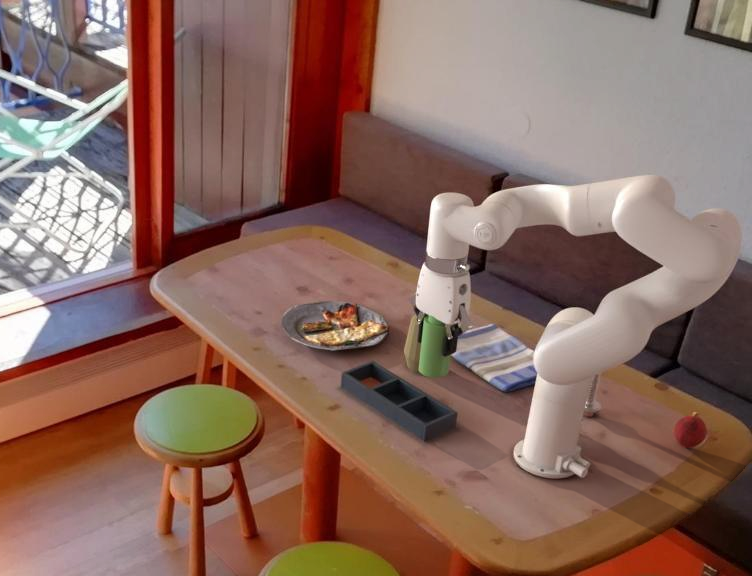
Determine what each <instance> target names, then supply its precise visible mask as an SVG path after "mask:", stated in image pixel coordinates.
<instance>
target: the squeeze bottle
mask: <svg viewBox="0 0 752 576" xmlns="http://www.w3.org/2000/svg"><path fill="white" fill-rule="evenodd" d="M418 330H419V323H418V322H417V316H416V314H414V315H413V316H412V317H411V318H410V323H409V327H408V332H407V336H406V339H405V344H404V348H403V353H404V357H405V362H406V366H407V368H408V369H409V370H411V371H412V372H415V373H419V374H421V373H420V372H419V360H420V351H421V343H419V342H417V339H418Z"/></svg>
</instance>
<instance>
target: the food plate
mask: <svg viewBox="0 0 752 576" xmlns="http://www.w3.org/2000/svg"><path fill="white" fill-rule="evenodd" d="M280 325H281V328H282V330H283V331H284V332H285V333H286V335H287V336H288V337H289V338H290V339H291V340H292V341H295V342H297V343H299V344H302V345H305V346H306V347H310V348H314V349H319V350H326V351H334V352H335V351H341V350H351V349H352V350H354V349H358V348H365V347H372V346H376V345H379V344H381V343H382V342H383V341H384V340H386V338H387V336H388V335H389V334H390V325H389V324H388V321H387V320H386V318H385V317H384V316H383V315H381V314H380V313H379V312H378V311H377V310H374V309H371V308H369V307H367V306H364V305H362V304H360V303H354V302H353V303H352V302H351V303H350V302H346V301H335V300H326V301H325V300H324V301H318V302H309V303H303V304H296V305H294V306H292V307H290V308H289V309H287V310H286V311H284V313H283V315H282V316H281V318H280Z"/></svg>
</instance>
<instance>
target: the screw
mask: <svg viewBox="0 0 752 576" xmlns="http://www.w3.org/2000/svg"><path fill="white" fill-rule="evenodd" d="M601 374H602V373H600V374H597V375H595V376H592V380H591V384H590V389H589V393H588V397H587V400H586V405H585V409H584V414H583V417H587V418H588V417H593V416H594V413H599V412H600V411H601V409H602V405H601V403H600V402H599V401H598V400H596V397H597V392H598V389H599V384H600V379H601V376H602V375H601Z"/></svg>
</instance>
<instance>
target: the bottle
mask: <svg viewBox="0 0 752 576" xmlns="http://www.w3.org/2000/svg"><path fill="white" fill-rule="evenodd" d="M452 330H455V329H454V325H452ZM445 337H447V334H446V328H445V323H443V322H441V321H439V320H437V319H435V317H433V316H430V315H427V316H426V317H425V318H424V324H423V333H422V342H421V351H420V360H419V372H420V373H419V372H418V373H419V374H421V375H422V376H424V377H428V378H432V379H440V378H445V377H446V376H448V374H449V372H450V366H451V358H452V356H451V355H449V356H446V357H444V356H443V355H442V351H443V342H444V338H445Z"/></svg>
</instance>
